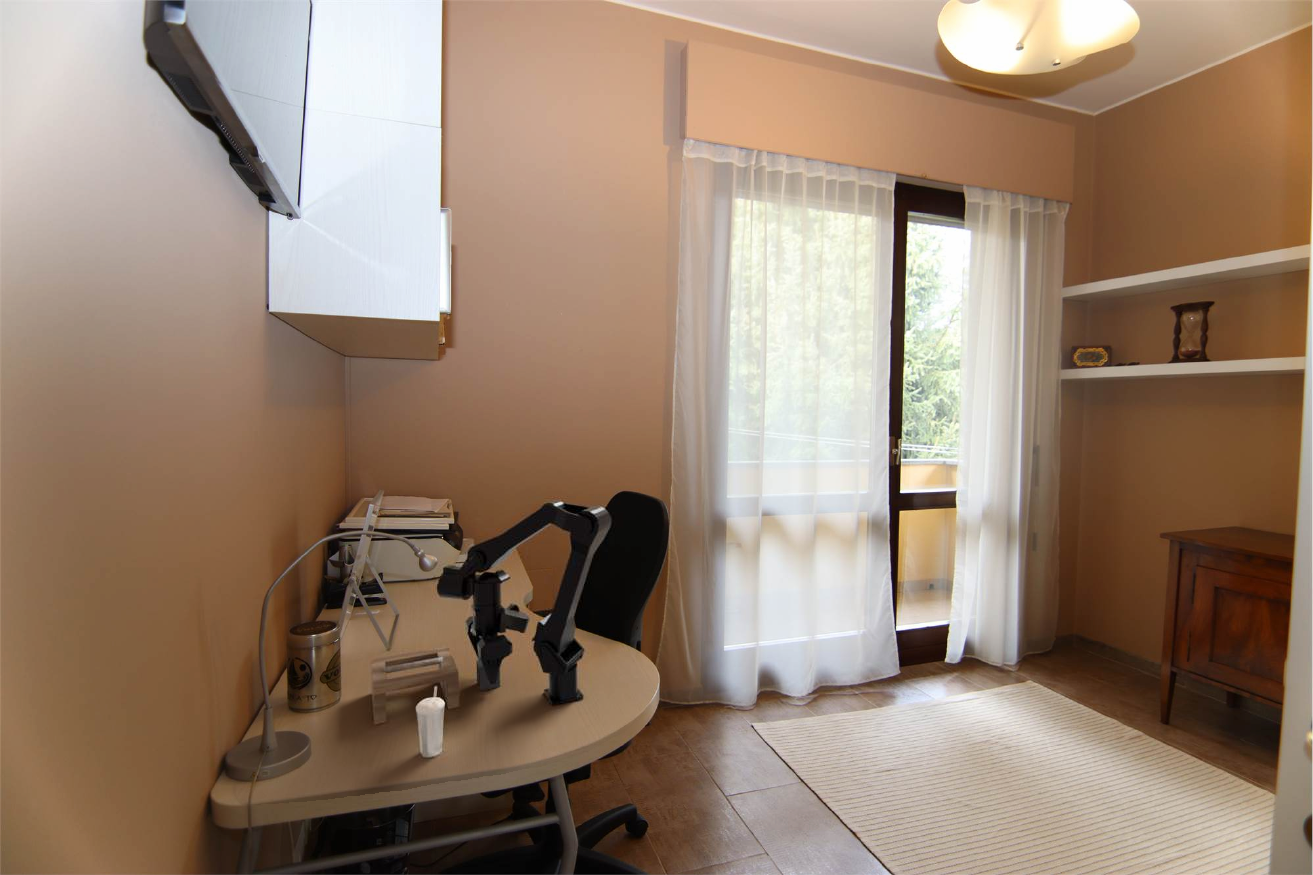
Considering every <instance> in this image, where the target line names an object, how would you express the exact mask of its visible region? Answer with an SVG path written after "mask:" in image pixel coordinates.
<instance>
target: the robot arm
mask: <svg viewBox="0 0 1313 875" xmlns="http://www.w3.org/2000/svg"><path fill="white" fill-rule="evenodd" d="M551 525H554V526H556V528H557V527H558V528H559V529H561V530H562V531H565V532H569V542H570V554H569V556H568V559H567V563H566V565H565V566H566V567H565V569H564V573H563V574H562V578H561V580H560V584H559V585H560V586H559V589H558V591H557V594H556V598H555V600H554V604H553V608H552V610H551V612H550V613H549V614H548V615H547V616H544V618H542V619H540V620H539V621H538V622H537V624H536V627H535V634H534V636H533V637H532V639H531V642H533V646H532V647H533V650H532V651H533V652H534V653H535V656H536V657H537V658H538V662H539V664H540V667H541V670H542V672H543V673H544V674H548V688H545V689H543V694H544V695H545V697H546V698H547V699H548V701H549V702H550V703H551V705H553V706H555V705H560V704H564V703H570V702H573V701H578V700H582V699H584V694H583V693H582V692H581V690H580V689H579V686H578V682H579V679H578V676H579V675H578V662H579V661H581V660H582V659H583V657H584V654H585V648H584V647H583V646H582V645H581V644H580V642H578V640H577V639H576V638H575V632H576V625H575V614H576V610H577V607H578V604H579V602H580V598H581V596H582V595H581V594H582V592H583V589H584V585H585V583H586V580H587V576H588V574H589V570H590V566H591V564H592V560H593V557H594V554H595V553H596V551H597V549H598V548H599V546H600V545H601V543H603V541H604V539H605V538H606V536H607V534H608V531H609V530H610V528H611V525H612V516H611V515H610V513H609V512H608V510H607V509H606V508H604V507H603V506H600V505H594V506H591V507H590V506H586V505H581V504H574V503H568V502H564V501H561V500H553V501H549V502H547V503H544V504H543V505H542V506H541V507H540V508H538V509H537V510H536V511H535V512H532V513H531V514H529V515H528V516H527V517H525V518H523V519H522V520H520V521H519V522H518V523H516V524H515V525H513V526H511V527H510V528H508V529H507V530H506V531H504V532H502V534H499V535H497V536H494V537H492V538H490V539H487V540H485V541H483V542H480V543H479V542H478V543H477V544H475V545H473V546H471V547H470V548H469V549H468V550H467V552H466V553H467V556H466V559H465V561H464V562H463V564H462V565H461V566H457V565H452V564H449V565H446V566H444V567H443V568H442V571H443V572H442V573H441V574H440V576H439V579H438V581H437V584H436V591H437V594H438V596H439V597H440V598H443V599H450V600H460V601H461V600H463V601H468V600H469V599H470V598H471V597H472V604H471V605H470V611H471V612H472V615H471V616H469V617H467V619H466V620H465V624H464V625H465V631H466V635H467V637H468V639H469V641H470V644H471V646H472V648H473V651H474V653H475V655H476V657H477V659H478V660H480V661H481V663H482V665H483V668H484V670H485V673H486V675H487V677H488V680H489V682H490V684H495V683H496V681H497V677H498V673H499V669H500V670H501V665H502V662H503V660H504V659H506V657H509V656H511V655H512V654H513V652H514V651H513V643H512V640H510V638H509V637H508V636H507V635H505V634H503V633H507V630H510V631H514V632H518V633H520V634H525V633H526V631H527V628H528V625H529V622H530V617H529V616H528V614H526V613H525V612H524V611H522V610H521V611H520V607H519V605H518V604H515V603H510V604H509V606H507V607H504V606H503V605H502V584H503V583H505V582H507V581H509V580H511V576H510V575H509V574H508V573H507V572H506V571H505V570H504V569H503V568H500V569H498V570H495V571H489V570H491V569H494V568H495V567H498V566H500V565H502V564H503V563H504V562H505V561H506V560H507V559H508V558H509V557H510V556H511V555H512V554H513V552H514V551H515V550H516V549H517V547H519V546H520V545H522V544H523V543H525V542H526V541H529V539H531V538H532V537H534V536H536V535H537V534H539V533H540V532H541V531H544V530H545V529H547V528H548V527H549V526H551ZM478 573H479V574H478ZM478 660H477V661H478Z"/></svg>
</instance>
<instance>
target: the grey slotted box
mask: <svg viewBox="0 0 1313 875" xmlns="http://www.w3.org/2000/svg"><path fill="white" fill-rule="evenodd" d="M476 684H477V685H479V690H480V691H486V690H490V689H495V688H500V687H501V668H500V669H499V673H498V677H497V681H496V683H495V684H490V682H489V680H488V677H487V675H486V673H485V670H484V668H483V665H482V663H481V661H480V660H476Z"/></svg>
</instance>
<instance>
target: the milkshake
mask: <svg viewBox="0 0 1313 875" xmlns="http://www.w3.org/2000/svg"><path fill="white" fill-rule="evenodd" d="M433 690H434V691H433V697H426V698H424V699H422V700H420V701H419V702H418V703H417V705H416V706H415V713H416V719H417V727H418V739H419V745H420V746H419V747H420V748H419V749H420V754H421V756H422V757H423V758H434V757H436V756H439V755H440V754H441V752H442V750H443V734H444V717H445V716H444V715H445V705H446V701H444V700H443V699H442V698H441V697H437V692H438V686H437V685H435V686H434V688H433Z"/></svg>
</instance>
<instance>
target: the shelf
mask: <svg viewBox="0 0 1313 875" xmlns="http://www.w3.org/2000/svg"><path fill="white" fill-rule="evenodd" d="M435 665H438V669H435V670H431V671H430V670H429V671H425V672H419V673H415V674H409V675H403V676H399V677H393V678H388V674H391V673H397V672H402V671H407V670H412V669H419V668H425V667H429V666H435ZM370 668H371V669H370V673H371V697H372V700H371V701H372V713H373V724H374V726H375V725H380V724H385V723H387V705H386V703H387V701H386V693H391V692H397V691H401V690H406V689H412V688H417V687H421V686H426V685H431V684H436V683H437V684H438V683H439V685H440V687H441V691H442V693H443V697H444V700H445V704H446V705H447V709H448V710H450V709H455V708H458V707H459V708H460V688H459V687H460V686H459V669H458V667H457V664H456V662H455V660H454V657H453V655H452V653H451V650H450V648H449V646H448V645H447V646H443V647H437V648H430V649H425V650H420V651H419V650H418V651H415V652H414V651H413V652H408V653H401V654H397V655H396V654H395V655H390V656H384V657H378V658H371V659H370Z"/></svg>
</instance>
